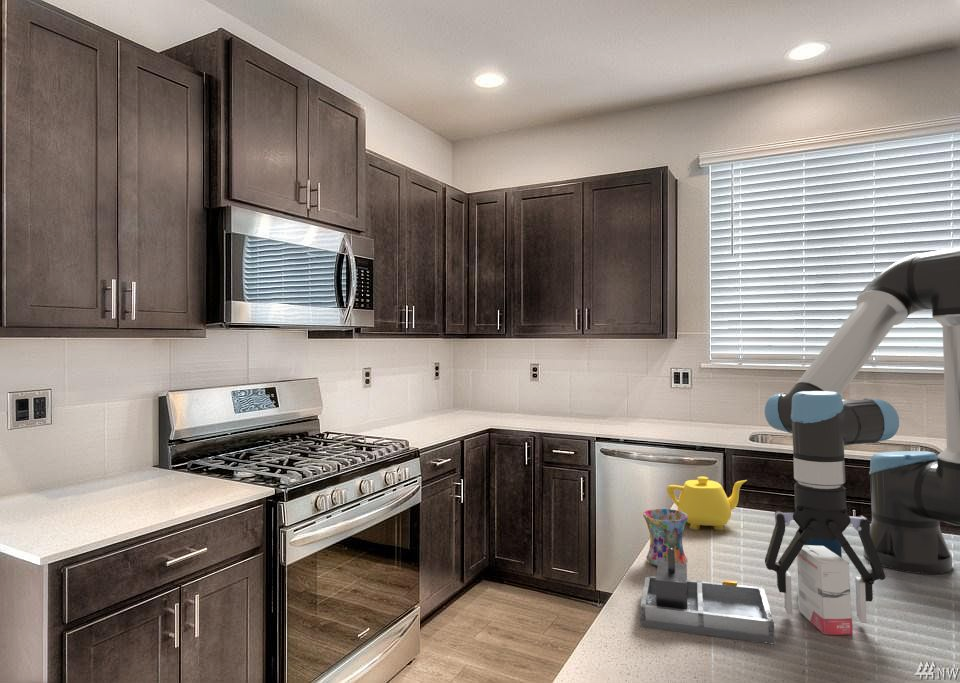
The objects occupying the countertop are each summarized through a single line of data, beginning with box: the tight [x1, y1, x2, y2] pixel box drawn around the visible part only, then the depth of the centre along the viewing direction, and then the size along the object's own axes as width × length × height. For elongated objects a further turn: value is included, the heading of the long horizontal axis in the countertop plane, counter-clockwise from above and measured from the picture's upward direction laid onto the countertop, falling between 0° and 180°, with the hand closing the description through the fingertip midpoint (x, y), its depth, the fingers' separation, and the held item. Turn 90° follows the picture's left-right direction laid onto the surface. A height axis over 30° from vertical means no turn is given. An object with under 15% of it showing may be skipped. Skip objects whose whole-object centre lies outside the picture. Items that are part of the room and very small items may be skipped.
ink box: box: [796, 545, 854, 636], centre depth 97 cm, size 9×5×12 cm, turn 175°
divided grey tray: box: [640, 548, 776, 645], centre depth 101 cm, size 20×14×11 cm
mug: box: [642, 508, 688, 567], centre depth 127 cm, size 12×9×11 cm
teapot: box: [666, 476, 748, 531], centre depth 151 cm, size 13×20×12 cm
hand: (824, 615), depth 97 cm, fingers open, 10 cm apart
